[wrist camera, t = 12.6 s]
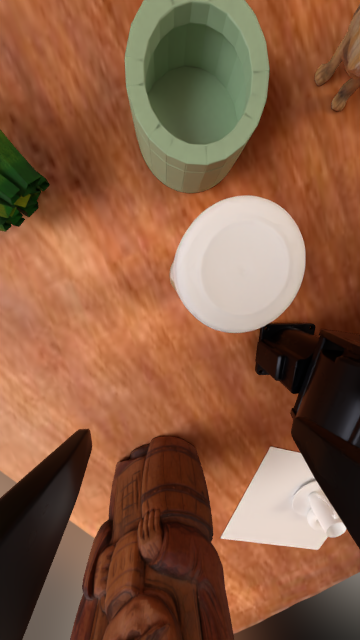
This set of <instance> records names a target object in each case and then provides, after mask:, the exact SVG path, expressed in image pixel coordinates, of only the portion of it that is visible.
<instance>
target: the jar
mask: <svg viewBox="0 0 360 640" xmlns="http://www.w3.org/2000/svg"><path fill="white" fill-rule="evenodd" d="M269 70H270V69H269V61H268V54H267V46H266V41H265V38H264V35H263V33H262V30H261V28H260V25H259V23H258V20H257V17H256V15H255V14H254V12H253V10H252V9H251V8H250V6H249V5H248V4H247V3H246V1H245V0H144V1H143V3H142V5H141V7H140V8H139V10H138V12H137V14H136V16H135V18H134V20H133V22H132V24H131V28H130V33H129V38H128V43H127V48H126V52H125V75H126V88H127V93H128V98H129V103H130V108H131V112H132V117H133V122H134V127H135V131H136V136H137V140H138V143H139V147H140V150H141V153H142V156H143V158H144V160H145V162H146V164H147V166H148V167H149V169H150V170H151V171H152V173H153V174H154V175H155V176H156V177H157V178H158V179H159V180H160V181H161V182H162V183H163V184H165V185H166V186H168V187H170V188H172V189H174V190H176V191H180V192H185V193H197V192H202V191H205V190H208V189H210V188H212V187H214V186H215V185H216V184H218V183H219V182H220V181H221V180H222V179H223V178H224V177H225V176H226V175H227V174H228V172H229V171H230V169H231V168H232V166H233V165H234V163H235V162H236V160H237V159H238V157H239V155H240V154H241V152H242V150H243V149H244V147H245V145H246V144H247V142H248V140H249V139H250V137H251V136H252V134H253V132H254V131H255V129H256V127H257V125H258V123H259V120H260V117H261V115H262V112H263V109H264V106H265V103H266V99H267V91H268V81H269Z"/></svg>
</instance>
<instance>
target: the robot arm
mask: <svg viewBox="0 0 360 640" xmlns="http://www.w3.org/2000/svg"><path fill="white" fill-rule="evenodd" d="M310 326H311V327H310ZM265 327H267V328H266V329H264V328H265ZM309 327H310V329H309ZM314 332H315V325H314V324H312V323H269V324H267V325H265V326H263V327H261V329H260V337H259V342H258V344H257V353H256V369H255V371H256V373H257V374H259V375H271V376H272V377H273V378H274V379H275V380H276V381H280V382H281V383H282V384H283V385H284V386H285V387H286V388H287V389H288V390H289V391H290V392H292V393H293V394H297V393H298V394H299V395H298V397H297V400H296V403H295V406H294V408H292V410H291V413H290V414H291V416H292V418H293V424H292V429H291V434H292V437H293V439H294V441H295V443H296V445H297V447H298V449H299V451H300V452H301V454H302V456H303V458H304V460H305V462H306V463H307V465H308V467H309V469H310V471H311V473H312V474H313V476H314V478H315V480H316V481H317V483H318V484H319V486H320V488H321V489H322V491H323V492H324V494H325V495H326V497H327V499H328V500H329V502H330V503H331V505H332V506H333V508H334V510H335V511H336V513H337V514H338V516H339V517H340V519H341V521H342V522H343V524H344V525H345V527H346V528H347V530H348V532H349V533H350V535H351V536H352V538H353V539H354V541H355V543H356V544H357V546H358V547H359V549H360V335H359V334H352V333H346V332H339V331H332V330H325V329H321V330H320V333H319V335H320V337H316V336H314ZM259 370H261V371H259ZM91 450H92V440H91V433H90V430H89V429H79V430H78V431H76V432H75V433H74V434H73V435H72V436H71V437H69V438H68V439H67V440H66V441H65V442H64V443H63V444H61V445H60V446H59V447H58V448H57V449H56V450H55V451H53V452H52V453H51V454H50V455H49V456H48V457H47V458H45V459H44V460H43V461H42V462H41V463H40V464H39V465H37V466H36V467H35V468H34V469H33V470H32V471H31V472H29V473H28V474H27V475H26V476H25V477H24V478H23V479H21V480H20V481H19V482H18V483H17V484H16V485H15V486H13V487H12V488H11V489H10V490H9V491H8V492H7V493H5V494H4V495H3V496H2V497H1V498H0V640H22V639H23V636H24V634H25V631H26V629H27V626H28V623H29V621H30V618H31V616H32V613H33V611H34V608H35V605H36V603H37V600H38V598H39V595H40V593H41V590H42V587H43V585H44V582H45V580H46V577H47V574H48V572H49V569H50V567H51V564H52V562H53V559H54V557H55V554H56V551H57V549H58V546H59V544H60V541H61V539H62V536H63V534H64V530H65V528H66V525H67V523H68V521H69V518H70V516H71V513H72V510H73V508H74V505H75V502H76V500H77V497H78V494H79V491H80V487H81V484H82V481H83V477H84V474H85V470H86V467H87V464H88V460H89V457H90V454H91Z"/></svg>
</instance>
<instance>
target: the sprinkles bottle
mask: <svg viewBox="0 0 360 640" xmlns="http://www.w3.org/2000/svg"><path fill="white" fill-rule="evenodd" d="M304 271H305V245H304V241H303V238H302V235H301V233H300V230H299V228H298V226H297V224H296V223H295V221H294V220H293V219H292V217H291V216H290V215H289V214H288V213H287V212H286V211H285V210H284V209H283V208H282V207H280V206H279V205H277V204H276V203H274V202H272V201H270V200H267V199H264V198H261V197H256V196H236V197H231V198H227V199H224V200H222V201H219V202H217V203H215V204H214V205H212V206H210V207H209V208H207V209H206V210H205V211H203V212H202V213H201V214H200V215H199V216H198V217H197V218H196V219H195V220H194V221H193V223H192V224H191V225H190V227H189V228H188V230H187V231H186V233H185V234H184V236H183V238H182V240H181V242H180V244H179V246H178V248H177V251H176V254H175V259H174V261H173V263H172V265H171V268H170V274H169V277H170V281H171V284H172V286H173V287H174V289H175V290H176V291H177V293H178V295H179V297H180V299H181V301H182V302H183V304H184V305H185V307H186V308H187V309H188V310H189V312H190V313H191V314H192V315H193V316H194V317H195V318H197V319H198V320H199V321H200V322H202V323H203V324H205V325H206V326H208V327H210V328H212V329H215V330H218V331H222V332H228V333H243V332H249V331H253V330H256V329H259V328H261V327H263V326H265V325H267V324H269V323H270V322H272V321H274V320H275V319H276V318H277V317H279V316H280V315H281V314H282V313H283V312H284V311H285V310H286V309H287V307H288V306H289V305H290V304H291V302H292V301H293V299H294V298H295V296H296V294H297V292H298V291H299V288H300V285H301V283H302V280H303V275H304Z"/></svg>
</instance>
